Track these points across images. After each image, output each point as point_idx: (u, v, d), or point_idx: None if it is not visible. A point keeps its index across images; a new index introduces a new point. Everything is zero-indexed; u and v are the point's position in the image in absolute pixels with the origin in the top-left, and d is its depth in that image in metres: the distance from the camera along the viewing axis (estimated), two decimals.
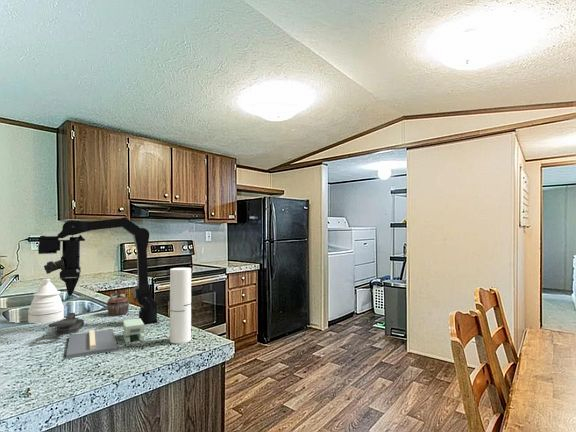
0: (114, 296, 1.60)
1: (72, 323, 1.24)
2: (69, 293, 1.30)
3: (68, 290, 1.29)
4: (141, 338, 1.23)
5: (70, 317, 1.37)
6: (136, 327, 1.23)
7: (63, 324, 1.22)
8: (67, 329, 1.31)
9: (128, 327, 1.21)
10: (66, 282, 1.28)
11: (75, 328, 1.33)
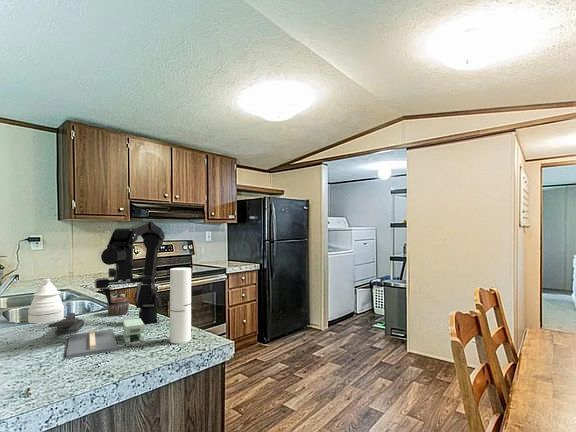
0: (114, 296, 1.60)
1: (72, 323, 1.24)
2: (109, 304, 1.25)
3: None
4: (141, 338, 1.23)
5: (70, 317, 1.37)
6: (136, 327, 1.23)
7: (63, 324, 1.22)
8: (67, 329, 1.31)
9: (128, 327, 1.21)
10: (104, 292, 1.25)
11: (75, 328, 1.33)
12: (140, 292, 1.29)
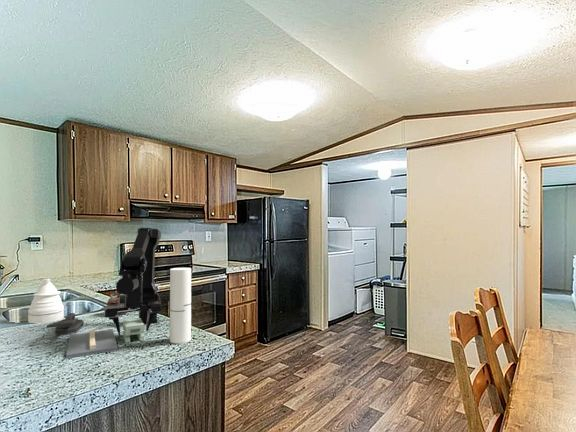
0: (114, 296, 1.60)
1: (70, 324, 1.23)
2: None
3: None
4: (141, 338, 1.23)
5: (69, 317, 1.36)
6: (136, 327, 1.23)
7: (61, 325, 1.22)
8: (66, 329, 1.31)
9: (128, 327, 1.21)
10: None
11: (74, 329, 1.33)
12: (149, 320, 1.28)
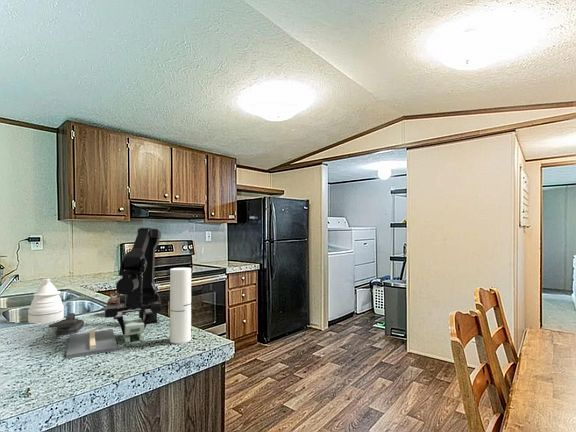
0: (114, 296, 1.60)
1: (72, 324, 1.23)
2: (123, 332, 1.25)
3: (121, 329, 1.25)
4: (141, 338, 1.23)
5: (70, 318, 1.36)
6: (136, 327, 1.23)
7: (63, 325, 1.22)
8: (67, 329, 1.31)
9: (128, 327, 1.21)
10: None
11: (75, 329, 1.33)
12: (145, 321, 1.27)
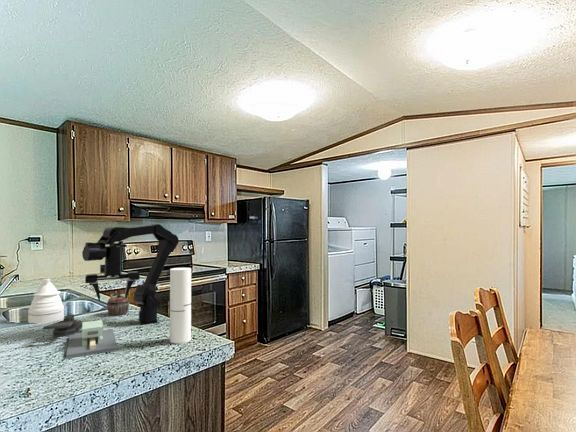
0: (114, 296, 1.60)
1: (67, 325, 1.21)
2: None
3: (97, 295, 1.34)
4: (99, 341, 1.17)
5: (68, 319, 1.34)
6: (94, 329, 1.16)
7: (58, 326, 1.19)
8: (64, 331, 1.29)
9: (85, 329, 1.15)
10: None
11: (72, 330, 1.31)
12: (128, 287, 1.37)
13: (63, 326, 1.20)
